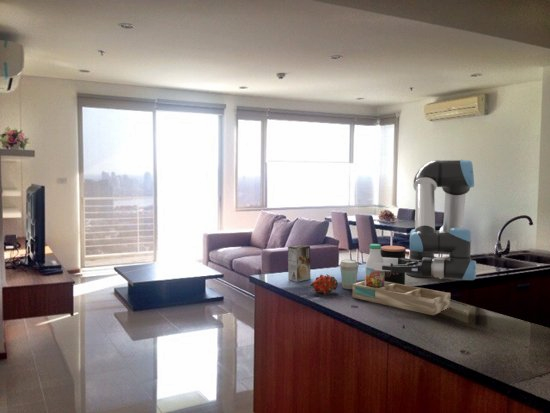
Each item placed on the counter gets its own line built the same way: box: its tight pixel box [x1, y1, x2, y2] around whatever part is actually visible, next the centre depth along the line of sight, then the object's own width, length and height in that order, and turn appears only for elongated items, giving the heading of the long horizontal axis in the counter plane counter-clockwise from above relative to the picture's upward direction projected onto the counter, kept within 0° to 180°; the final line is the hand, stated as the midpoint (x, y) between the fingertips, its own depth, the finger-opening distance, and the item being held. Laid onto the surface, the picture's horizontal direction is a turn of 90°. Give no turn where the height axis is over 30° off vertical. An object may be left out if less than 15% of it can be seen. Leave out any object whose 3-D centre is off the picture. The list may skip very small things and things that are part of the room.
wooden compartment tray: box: [351, 280, 451, 316], centre depth 187 cm, size 14×35×6 cm, turn 45°
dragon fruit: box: [310, 274, 339, 295], centre depth 202 cm, size 8×8×12 cm
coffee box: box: [287, 244, 311, 282], centre depth 228 cm, size 9×6×16 cm
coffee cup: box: [339, 258, 360, 290], centre depth 211 cm, size 8×9×12 cm
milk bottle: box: [364, 243, 385, 288], centre depth 194 cm, size 8×8×20 cm
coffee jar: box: [380, 245, 406, 285], centre depth 210 cm, size 11×11×18 cm
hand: (378, 263), depth 193 cm, fingers open, 13 cm apart
